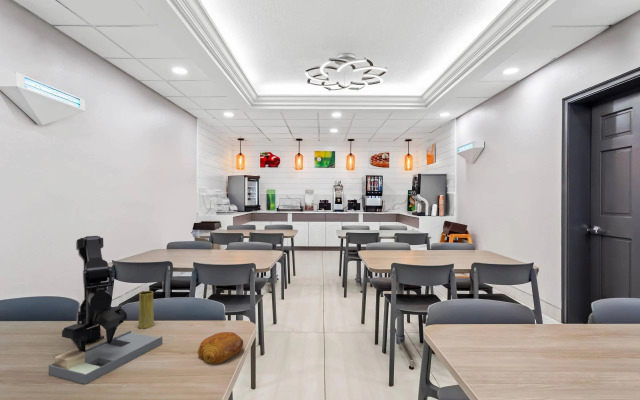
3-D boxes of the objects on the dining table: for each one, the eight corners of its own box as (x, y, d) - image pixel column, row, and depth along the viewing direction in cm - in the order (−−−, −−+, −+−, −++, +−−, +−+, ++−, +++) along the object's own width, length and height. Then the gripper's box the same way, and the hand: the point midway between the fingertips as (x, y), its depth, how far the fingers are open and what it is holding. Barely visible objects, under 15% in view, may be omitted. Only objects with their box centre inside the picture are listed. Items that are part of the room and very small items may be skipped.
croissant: (249, 355, 117) (252, 332, 118) (218, 369, 104) (222, 343, 104) (219, 346, 124) (222, 324, 125) (186, 358, 110) (190, 333, 111)
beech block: (54, 366, 100) (54, 357, 100) (73, 358, 106) (73, 349, 106) (66, 370, 99) (66, 360, 99) (85, 361, 104) (85, 352, 104)
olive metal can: (147, 329, 135) (147, 295, 135) (134, 328, 136) (134, 294, 136) (157, 323, 141) (157, 290, 141) (144, 322, 142) (145, 290, 142)
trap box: (48, 374, 100) (48, 365, 100) (130, 337, 127) (130, 330, 127) (85, 384, 95) (85, 375, 95) (162, 343, 121) (162, 336, 121)
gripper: (86, 314, 98) (85, 366, 98) (138, 297, 116) (138, 341, 116) (60, 310, 102) (60, 360, 102) (115, 294, 120) (115, 336, 120)
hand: (96, 348), depth 110 cm, fingers open, 9 cm apart
